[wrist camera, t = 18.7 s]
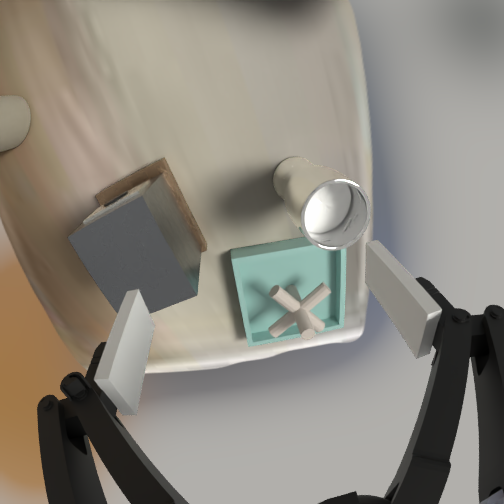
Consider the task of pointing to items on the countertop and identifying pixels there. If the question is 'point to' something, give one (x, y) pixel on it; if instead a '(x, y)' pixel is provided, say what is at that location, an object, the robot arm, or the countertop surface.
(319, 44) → the countertop surface
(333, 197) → the beer glass
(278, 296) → the pipe connector
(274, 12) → the countertop surface
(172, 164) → the countertop surface
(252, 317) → the tray
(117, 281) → the mounted unit
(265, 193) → the countertop surface
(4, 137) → the travel mug
